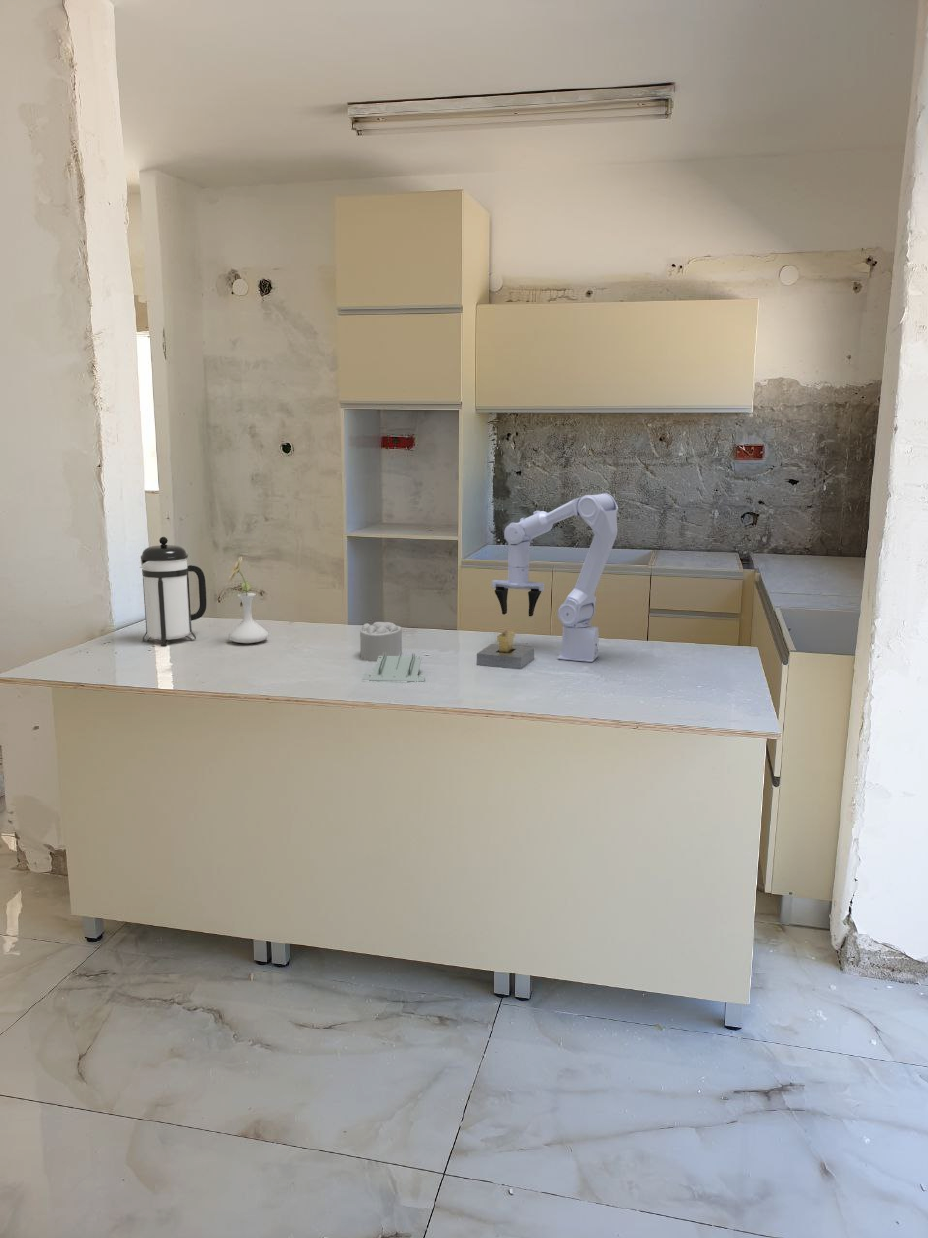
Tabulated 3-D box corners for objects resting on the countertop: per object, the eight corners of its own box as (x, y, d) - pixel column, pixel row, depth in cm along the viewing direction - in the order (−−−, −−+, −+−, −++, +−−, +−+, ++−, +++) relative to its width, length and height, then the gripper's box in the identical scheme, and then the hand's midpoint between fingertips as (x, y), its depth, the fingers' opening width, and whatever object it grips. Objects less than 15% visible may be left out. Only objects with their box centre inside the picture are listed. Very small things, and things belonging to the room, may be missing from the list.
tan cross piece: (514, 659, 246) (514, 631, 245) (506, 665, 240) (506, 636, 239) (505, 658, 247) (506, 630, 246) (497, 664, 241) (497, 636, 239)
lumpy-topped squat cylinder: (405, 651, 255) (404, 620, 253) (392, 662, 243) (392, 630, 241) (368, 649, 257) (368, 618, 255) (354, 660, 245) (353, 628, 243)
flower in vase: (237, 636, 272) (233, 552, 267) (274, 638, 271) (271, 553, 266) (219, 646, 260) (215, 558, 255) (258, 648, 258) (255, 559, 253)
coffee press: (191, 646, 259) (185, 539, 254) (134, 646, 260) (127, 539, 254) (208, 633, 276) (203, 533, 271) (155, 633, 277) (149, 533, 271)
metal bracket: (371, 647, 235) (429, 648, 234) (372, 667, 238) (430, 668, 236) (360, 677, 222) (422, 678, 221) (362, 697, 225) (423, 699, 224)
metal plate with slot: (534, 658, 247) (534, 647, 246) (520, 669, 236) (521, 657, 235) (491, 654, 251) (491, 643, 250) (476, 664, 240) (476, 653, 239)
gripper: (488, 566, 253) (488, 615, 256) (540, 569, 248) (539, 619, 251) (496, 563, 260) (496, 611, 262) (546, 566, 255) (545, 614, 258)
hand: (517, 614), depth 257 cm, fingers open, 7 cm apart
